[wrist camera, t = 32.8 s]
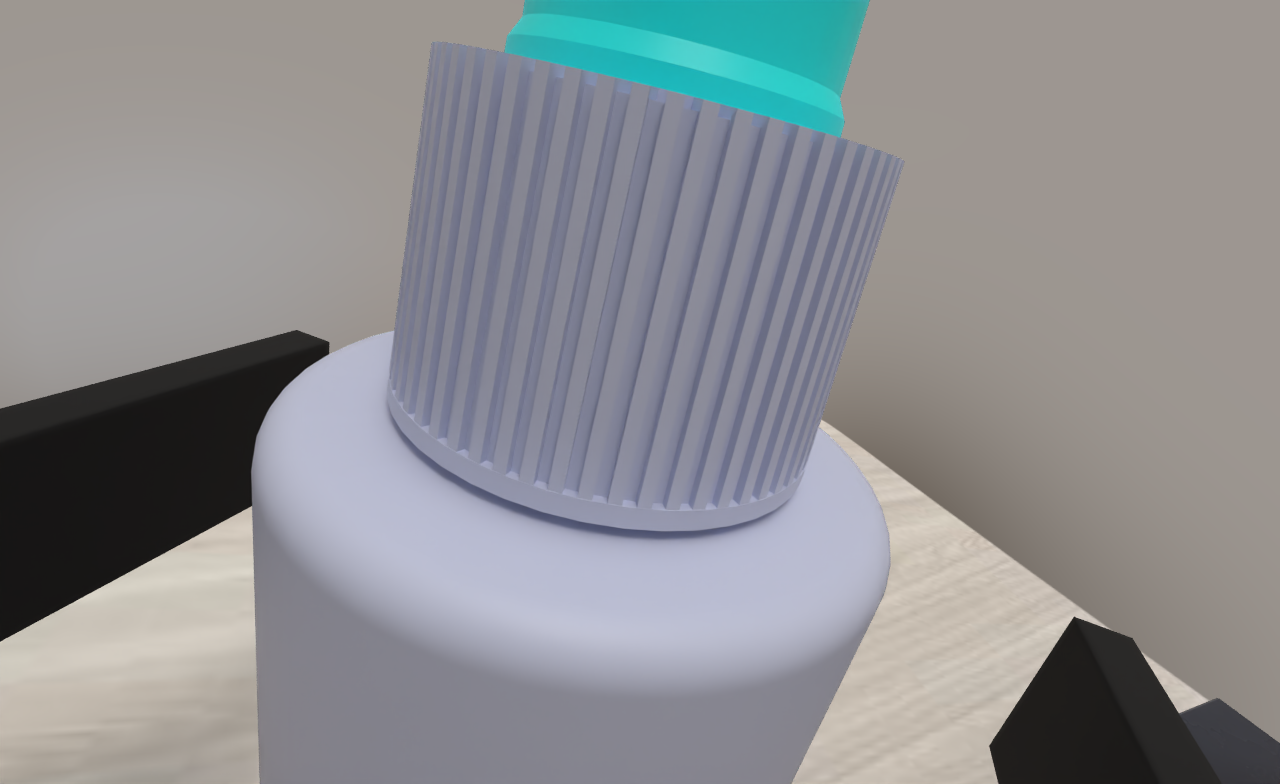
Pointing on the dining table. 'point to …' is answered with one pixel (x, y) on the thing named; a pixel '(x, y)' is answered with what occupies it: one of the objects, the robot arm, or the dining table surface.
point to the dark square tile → (1233, 744)
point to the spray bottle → (588, 422)
